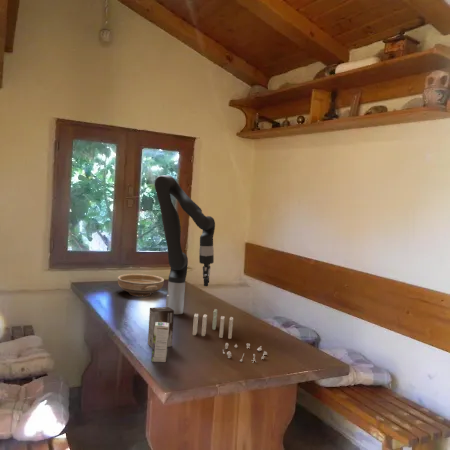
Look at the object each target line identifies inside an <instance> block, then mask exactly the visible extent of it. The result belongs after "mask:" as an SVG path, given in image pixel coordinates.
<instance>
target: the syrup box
mask: <svg viewBox="0 0 450 450" xmlns="http://www.w3.org/2000/svg"><path fill="white" fill-rule="evenodd" d="M168 333H169V323H165V322H156V323H155V326H154V336H153V347H151V348H152V350H151V362H152V363H154V362H155V363H166V361H167V353H168V347H167V345H168Z"/></svg>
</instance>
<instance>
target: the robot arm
mask: <svg viewBox="0 0 450 450" xmlns="http://www.w3.org/2000/svg"><path fill="white" fill-rule="evenodd" d="M154 189H155V193H156V197H157V200H158V205H159V210H160V216H161V221H162V228H163V233H164V237H165V238H164V239H165V242H166V245H167V246H166V247H167V258H168V264H169V268H170V272H169V275H168V281H167V282H168V283H167V293H166V300H165V307H169V308H171V309H173V310H174V315H182V314H183V313H184V304H185V290H186V279H187V275H188V265H189V260H188V259H189V258H188V256H187V254H186V253H185V252H183V250H182V249H183V248H182V244H181V233H182V231H181V230H182V226H181V221H180V216H179V213H178V211H177V210H176V207H175V205H174V203H173V201H172V198H171V196H173V197H174V198H175V199H176V200H177V202H178V204H179V206H180V207H181V209H182V210H183V211H184V212H185V214H187V215H188V216H189V217H190V218H191V219H192V221H193V222H194V223H195V225H196V226H197V227H198V228H199V229H200V230H202V232H201V233H202V234H200V236H199V249H198V250H199V251H198V252H199V257H198V259H199V264H201V265H203V266H202V279H203V287H208V286H209V283H210V275H211V264H214V259H215V258H214V255H215V254H214V235H215V229H216V221H215V219H214V218H213V217H212V216H209V215H207V216H206V215H205V214H204V213H203V210H202V208H201V207H200V206H199V205H198V204H197V203H196V202H195V201H194V200H192V198H190V196H188V195H187V193H186V192H185V191H184V190H183V188H182V187H181V186H180V184H179V183H178V182H177V180H176V179H175V178H174V177H173V176H171V175H169V174H168V175H164V174H163V175H158V176H157V177H155V180H154Z"/></svg>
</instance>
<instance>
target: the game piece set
mask: <svg viewBox="0 0 450 450" xmlns="http://www.w3.org/2000/svg"><path fill="white" fill-rule="evenodd" d="M229 346H230V345H229V343H228V342H225V345H224V347H225V348H224V349H222V354H223V355H224V354H225V355H226V356H227V358H228V359H231V357H232V352H231V351H230V350H229V351H227V352H225V351H224V350H227V349H228V347H229ZM250 346H251V344H250V343H246V349H248V348H249V349H251V347H250ZM234 348H235V349H237V348H238V345H237V344H235V345H234ZM262 350H263V348H262V345H260V346H259V347H258V348H257V349H256V351H258V352H260V351H262ZM264 355H267V356H268V352H267V351H265V350H264V351H263V354H262V355H261V358H260V359H261V360H262V359H263V360H264V359H265V358H266V356H264ZM252 356H253V359H252V361H253V362H252V363H254V361H255V363H257V360H256V354H255V353H253V355H252ZM243 357H245V353H243V354H242V357H241V358H240V360H239V362H241V363H243Z"/></svg>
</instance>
